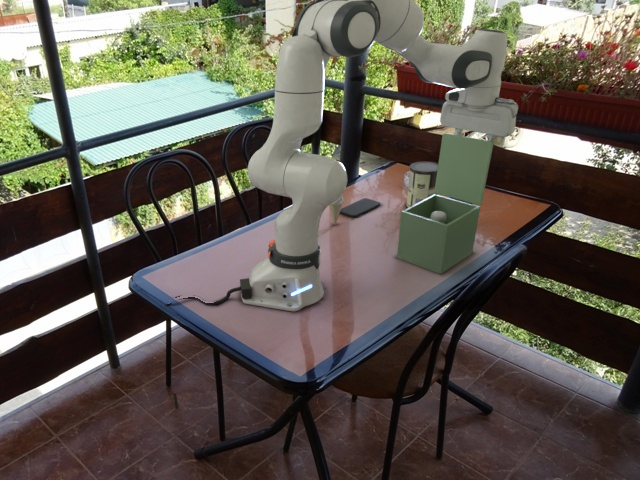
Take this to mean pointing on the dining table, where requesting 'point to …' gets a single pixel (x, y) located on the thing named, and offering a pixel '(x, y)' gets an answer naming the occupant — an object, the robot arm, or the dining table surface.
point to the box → (437, 233)
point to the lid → (463, 167)
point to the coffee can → (421, 182)
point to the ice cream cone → (336, 208)
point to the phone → (359, 207)
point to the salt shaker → (438, 216)
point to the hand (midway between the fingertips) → (472, 146)
